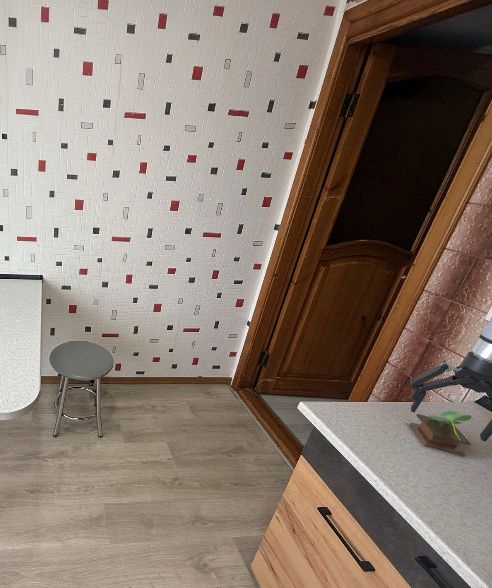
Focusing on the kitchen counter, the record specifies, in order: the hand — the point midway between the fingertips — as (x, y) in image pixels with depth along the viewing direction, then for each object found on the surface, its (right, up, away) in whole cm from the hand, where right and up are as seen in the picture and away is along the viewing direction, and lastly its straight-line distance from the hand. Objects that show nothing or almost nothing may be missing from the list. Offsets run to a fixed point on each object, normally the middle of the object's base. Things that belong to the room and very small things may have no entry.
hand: (445, 423), depth 90 cm
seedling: (0, -2, +1) cm, 2 cm away
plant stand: (0, -6, +2) cm, 6 cm away
